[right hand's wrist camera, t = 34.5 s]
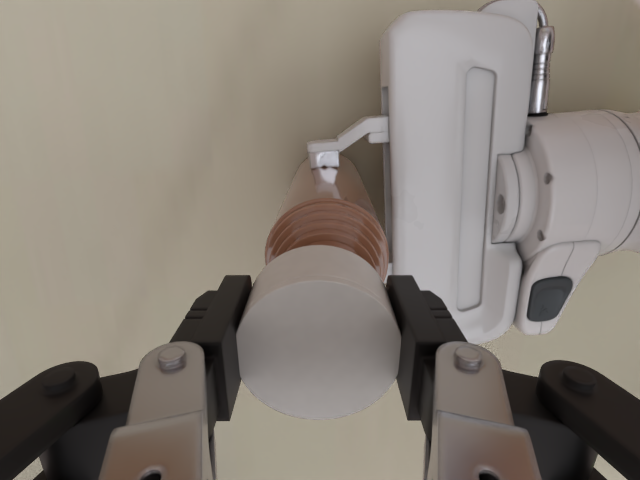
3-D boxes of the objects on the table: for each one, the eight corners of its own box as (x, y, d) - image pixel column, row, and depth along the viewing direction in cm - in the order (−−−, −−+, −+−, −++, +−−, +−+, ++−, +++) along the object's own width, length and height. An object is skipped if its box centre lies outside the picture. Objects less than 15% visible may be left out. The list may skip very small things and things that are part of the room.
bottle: (372, 169, 29) (452, 293, 10) (341, 227, 31) (363, 423, 12) (311, 139, 28) (280, 214, 10) (283, 199, 30) (210, 363, 11)
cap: (229, 336, 12) (209, 388, 10) (281, 220, 11) (272, 252, 9) (349, 382, 13) (355, 439, 11) (414, 278, 12) (435, 321, 9)
